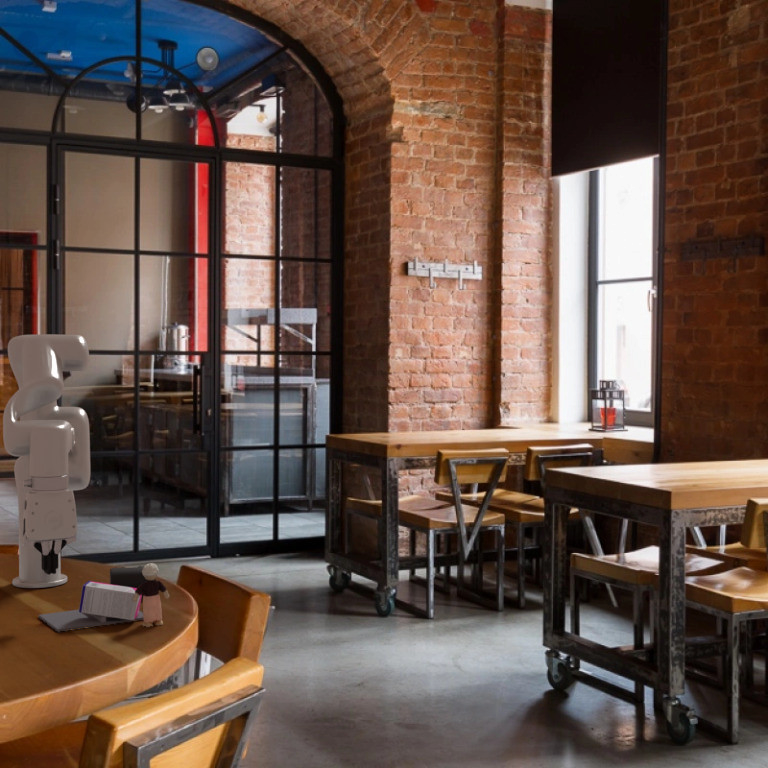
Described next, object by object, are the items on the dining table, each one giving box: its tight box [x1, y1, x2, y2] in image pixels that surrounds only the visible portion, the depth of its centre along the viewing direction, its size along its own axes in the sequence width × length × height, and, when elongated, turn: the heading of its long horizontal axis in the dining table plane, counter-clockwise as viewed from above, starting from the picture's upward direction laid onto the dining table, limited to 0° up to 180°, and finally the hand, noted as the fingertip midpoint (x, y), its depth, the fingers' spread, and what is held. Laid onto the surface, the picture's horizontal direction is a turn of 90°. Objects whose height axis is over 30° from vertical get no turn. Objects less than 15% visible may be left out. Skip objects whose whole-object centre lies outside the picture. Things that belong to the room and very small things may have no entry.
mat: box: [38, 609, 144, 633], centre depth 222 cm, size 14×19×2 cm
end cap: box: [109, 565, 157, 597], centre depth 243 cm, size 10×7×7 cm
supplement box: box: [78, 580, 143, 620], centre depth 219 cm, size 6×6×12 cm
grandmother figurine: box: [132, 563, 170, 628], centre depth 217 cm, size 8×4×13 cm, turn 135°
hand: (49, 572), depth 218 cm, fingers closed
